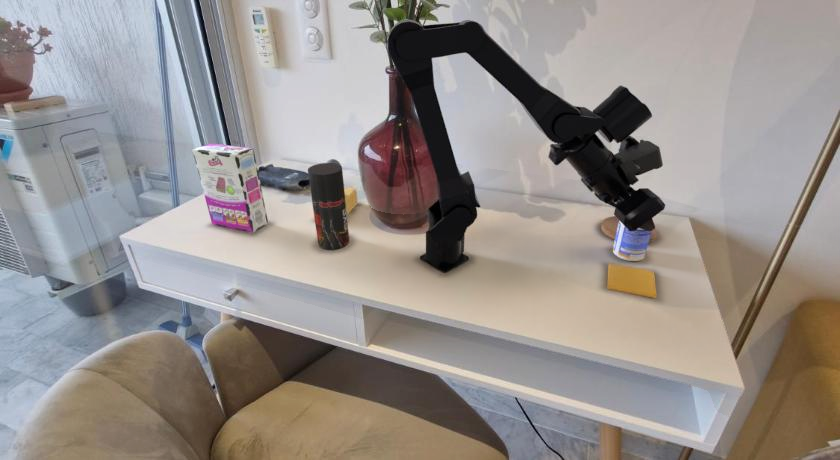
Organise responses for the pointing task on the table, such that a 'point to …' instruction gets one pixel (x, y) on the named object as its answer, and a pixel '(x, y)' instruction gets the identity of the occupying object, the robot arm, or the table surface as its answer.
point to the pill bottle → (631, 243)
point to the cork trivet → (611, 226)
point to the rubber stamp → (347, 193)
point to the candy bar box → (231, 186)
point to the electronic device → (283, 178)
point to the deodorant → (329, 205)
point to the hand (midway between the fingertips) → (644, 221)
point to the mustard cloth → (631, 280)
